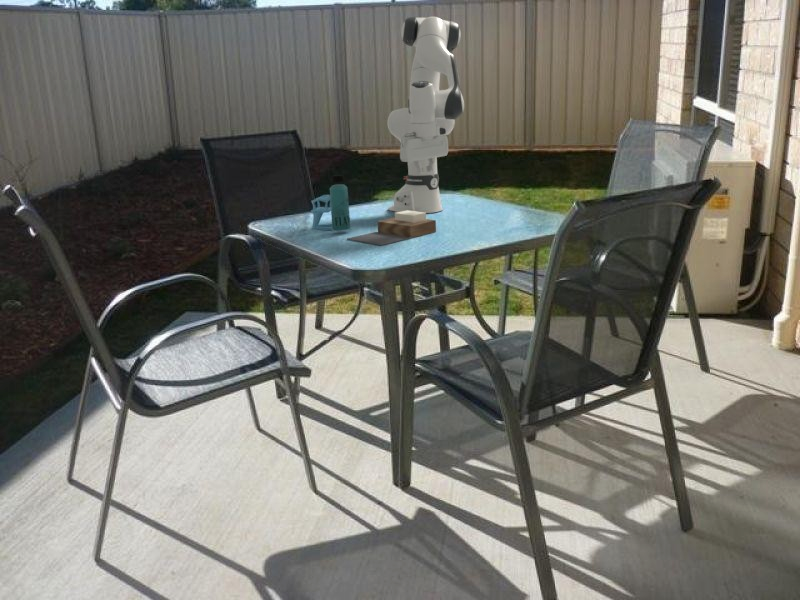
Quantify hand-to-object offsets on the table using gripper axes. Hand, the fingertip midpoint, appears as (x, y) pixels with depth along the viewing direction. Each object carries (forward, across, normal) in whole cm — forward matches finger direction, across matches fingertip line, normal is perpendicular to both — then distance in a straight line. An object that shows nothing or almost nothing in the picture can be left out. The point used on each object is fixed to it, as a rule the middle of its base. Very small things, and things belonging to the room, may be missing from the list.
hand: (425, 172), depth 282 cm
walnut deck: (+19, -10, 0) cm, 22 cm away
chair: (+19, -21, +31) cm, 42 cm away
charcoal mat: (+19, -23, 0) cm, 30 cm away
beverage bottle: (+19, -23, +19) cm, 36 cm away
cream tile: (+15, -8, 0) cm, 17 cm away
